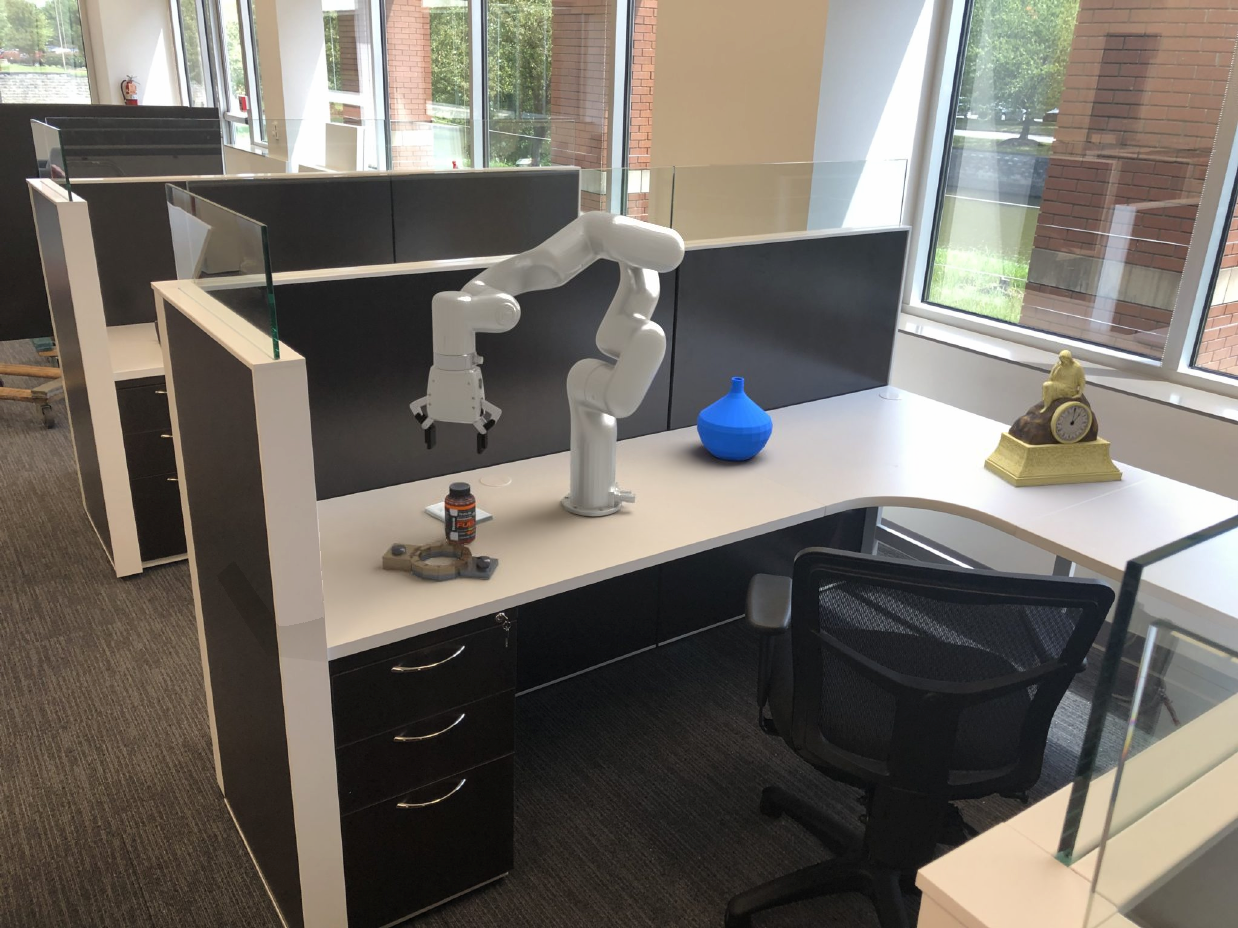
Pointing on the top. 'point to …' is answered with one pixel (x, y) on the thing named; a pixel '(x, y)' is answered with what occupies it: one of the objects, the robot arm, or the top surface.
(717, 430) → the vase
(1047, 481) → the decorative clock
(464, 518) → the supplement bottle
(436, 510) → the external hard drive
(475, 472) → the top surface
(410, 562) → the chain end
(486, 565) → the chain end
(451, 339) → the robot arm
